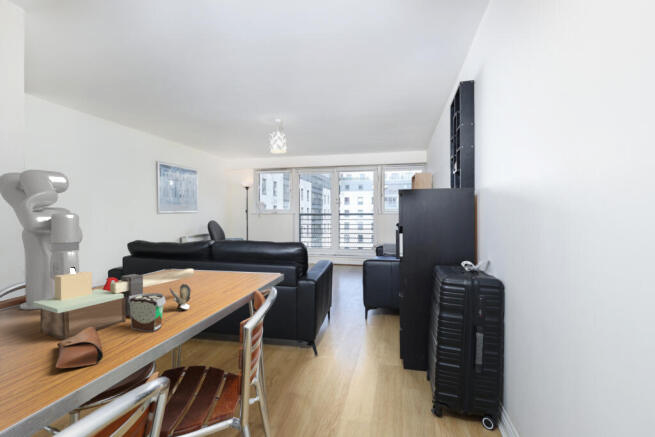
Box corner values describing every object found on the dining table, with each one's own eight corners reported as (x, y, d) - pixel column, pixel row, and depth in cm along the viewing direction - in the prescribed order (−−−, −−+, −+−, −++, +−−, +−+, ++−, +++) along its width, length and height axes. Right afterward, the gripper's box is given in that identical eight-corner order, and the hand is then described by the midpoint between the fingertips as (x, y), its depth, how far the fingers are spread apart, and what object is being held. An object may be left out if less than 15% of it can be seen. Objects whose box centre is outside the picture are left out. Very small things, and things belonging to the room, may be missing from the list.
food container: (175, 326, 92) (175, 294, 92) (157, 333, 86) (157, 299, 86) (146, 321, 96) (146, 291, 96) (128, 328, 90) (127, 296, 90)
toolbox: (40, 331, 87) (40, 285, 87) (121, 310, 107) (121, 272, 107) (64, 340, 81) (64, 290, 81) (145, 315, 101) (145, 275, 101)
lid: (32, 305, 87) (32, 278, 86) (98, 292, 102) (98, 268, 102) (57, 313, 80) (57, 283, 80) (123, 297, 95) (123, 272, 95)
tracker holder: (105, 306, 112) (105, 280, 112) (96, 305, 113) (96, 279, 113) (132, 297, 124) (132, 274, 124) (124, 296, 125) (123, 273, 125)
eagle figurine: (178, 306, 112) (178, 283, 111) (195, 307, 111) (195, 283, 111) (165, 313, 104) (165, 288, 104) (184, 314, 103) (184, 288, 103)
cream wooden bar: (110, 292, 96) (110, 283, 96) (188, 275, 123) (188, 268, 123) (115, 293, 95) (115, 284, 95) (193, 276, 122) (193, 269, 122)
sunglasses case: (54, 342, 76) (74, 318, 79) (82, 352, 80) (100, 328, 83) (54, 369, 63) (78, 339, 66) (87, 378, 67) (109, 350, 70)
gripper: (40, 247, 104) (41, 298, 104) (63, 249, 97) (64, 304, 97) (66, 245, 111) (67, 293, 111) (90, 247, 104) (90, 299, 104)
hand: (65, 298), depth 104 cm, fingers closed
